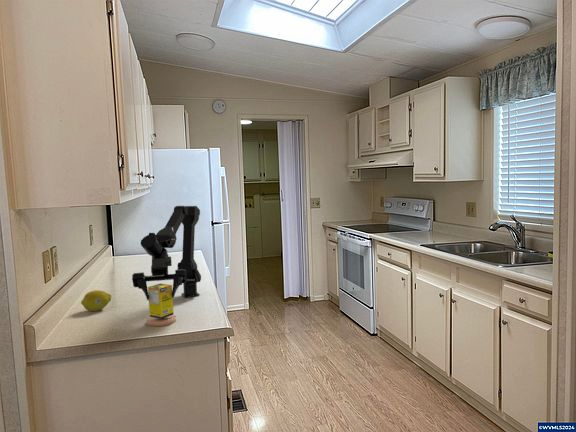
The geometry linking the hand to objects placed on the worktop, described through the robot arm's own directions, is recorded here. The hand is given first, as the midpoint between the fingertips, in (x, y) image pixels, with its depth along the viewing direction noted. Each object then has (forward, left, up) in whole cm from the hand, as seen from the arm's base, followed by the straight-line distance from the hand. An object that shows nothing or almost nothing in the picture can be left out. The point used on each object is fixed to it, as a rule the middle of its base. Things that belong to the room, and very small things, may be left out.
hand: (160, 298), depth 148 cm
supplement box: (-1, 0, -7) cm, 7 cm away
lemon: (-30, -18, -9) cm, 36 cm away
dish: (-1, 0, -9) cm, 9 cm away
